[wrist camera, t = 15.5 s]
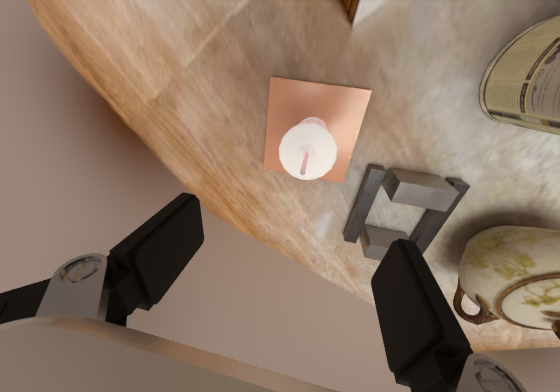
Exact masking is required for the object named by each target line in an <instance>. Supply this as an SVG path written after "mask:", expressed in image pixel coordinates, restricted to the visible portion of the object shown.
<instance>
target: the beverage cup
mask: <svg viewBox="0 0 560 392" xmlns="http://www.w3.org/2000/svg"><path fill="white" fill-rule="evenodd" d="M336 155H337V146H336V143H335V140H334V137H333V135H332V134H331V133H330V132H329V131H328V128H327V126H326V124H325V123H324V122H323V121H322V120H321V119H319V118H316V117H309V118H306V119H304V120H303V121H302V122H300V123H299V124H298V125H296V126H294V127H292V128H291V129H290V130H289V131H288V132H287V133H286V134H285V135H284V136H283V138H282V141H281V144H280V146H279V159H280V161H281V163H282V165H283V167H284V169H285V170H286V171H287V172H289V173H290V174H291V175H292V176H294V177H297V178H299V179H303V180H313V179H316V178H319V177H322V176H323V175H325V174H326V173H327V172H328V171H329V170H331V168H332V166H333V164H334V163H335V161H336Z"/></svg>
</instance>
